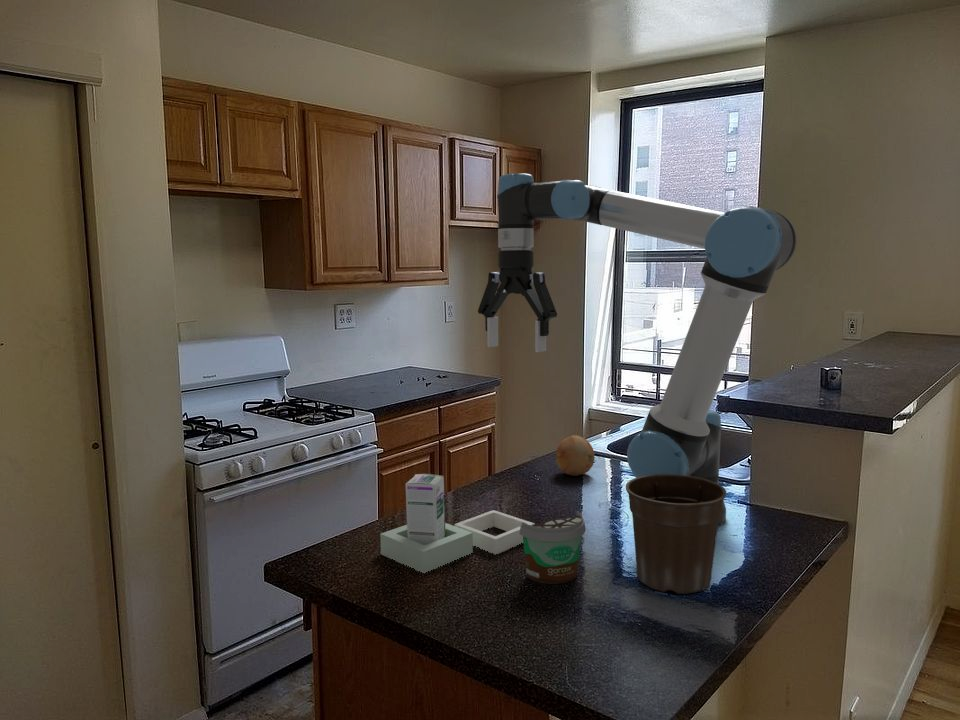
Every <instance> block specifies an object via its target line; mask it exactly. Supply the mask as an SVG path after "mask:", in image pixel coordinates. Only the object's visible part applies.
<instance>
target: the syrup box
mask: <svg viewBox="0 0 960 720" xmlns="http://www.w3.org/2000/svg"><path fill="white" fill-rule="evenodd" d="M404 485H405V508H406V525H407V536H408V539H410V540H413V541H415V542H417V543H420V544H422V545H427V544H429V543H432V542H435V541H437V540H440V539H443V538H445V537H446V534H445V523H446V509H445V507H446V506H445V505H446V504H445V479H444V475H439V474H435V473H434V474H433V473H418V474H416V473H415V474H414V475H413V477H412V478H410V479H409V480H408V481H407V482H406V483H405V484H404Z"/></svg>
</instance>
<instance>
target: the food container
mask: <svg viewBox="0 0 960 720" xmlns="http://www.w3.org/2000/svg"><path fill="white" fill-rule="evenodd" d="M575 513H576V514H575V516H570V517H565V518H551V519H548V520H545V521H542V522H539V523H536V524H535V525H528V524H525V523H524V522H522V526H521V527H520V532H519V534H520V535H522V536H523V542H524V543H523V551H524V560H525V561H524V562H525V563H524V564H525V574H526V577H527V579H529V580H531V581H534V582H537V583H542V584H549V585H551V584H552V585H554V584H557V585H558V584H563V583H568V582H570V581H572V580H574V579H576V578H577V576H578V569H579V559H580V552H581V543H582V536H583V535H584V534H585V533H586V532H587V531H586V530H587V529H586V524H585V523H586V521H585V519H584V517H583V516H584V515H583V514H581V512H580V511H578V510H577V511H576V512H575Z"/></svg>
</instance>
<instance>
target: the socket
mask: <svg viewBox="0 0 960 720" xmlns="http://www.w3.org/2000/svg"><path fill="white" fill-rule="evenodd" d="M445 534H446V537H445V538H443V539H440V540H437V541H435V542H432V543H429V544H427V545H422V544H420V543H417V542H415V541H413V540H410V539H408V536H407V524H405V525H402V526H399V527H396V528H393V529H389V530H388V531H384V532H381V533H380V534H379V535H380V536H379V537H380V555H382V556H384V557H386V558H388V559H390V560H392V559H393V561H394V560H395V562H397V563H399V564H401V565H403V564H404V565H403V566H406V565H407V566H406V567H408V566H409V567H408V568H410V567H411V569H412V568H414V569H415V570H414V569H413V570H414V571H416V572H419V571H420V572H419V573H421V572H422V574H423V573H424V574H426V572H427V573H429V572H432V571H433V569H434V570H437V569H439V568H441V567H443V565H444V566H446V565H448V564H451V563H453V562H455V561H454V560H456V561H458V560H460V559H459V558H461V557H463V558H465V557H467V556H466V555H468V556H470V555H472V554H471V553H474V552H473V550H474V546H473V533H472V532H469V531H466V530H463V529H461V528H458V527H455V526H454V525H452V524H450V523H447V522H445ZM469 554H470V555H469ZM464 556H465V557H464ZM457 559H458V560H457ZM461 559H462V558H461ZM452 561H453V562H452ZM450 562H451V563H450ZM447 563H448V564H447ZM445 564H446V565H445ZM440 566H441V567H440ZM438 567H439V568H438ZM431 570H432V571H431ZM428 571H429V572H428Z"/></svg>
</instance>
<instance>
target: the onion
mask: <svg viewBox="0 0 960 720" xmlns="http://www.w3.org/2000/svg"><path fill="white" fill-rule="evenodd" d="M555 461H556V464H557V467H558V468H559V469H560V471H562V472H563V473H565V474H566V475H569V476H573V477H577V476H580V475H581V476H582V475H584V474H586V473H588V472H589V471H590V470H591V469H592V467H593V466H594V463H595V452H594V448H593V446H592V444H591V443H590V442H589V440H587V439H586V438H585V437H582V436H580V435H577V434H576V435H575V434H574V435H570V436H568V437H566V438H565V439H562V440H561V441H560V443H559V444H558V446H557V448H556V449H555Z"/></svg>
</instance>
